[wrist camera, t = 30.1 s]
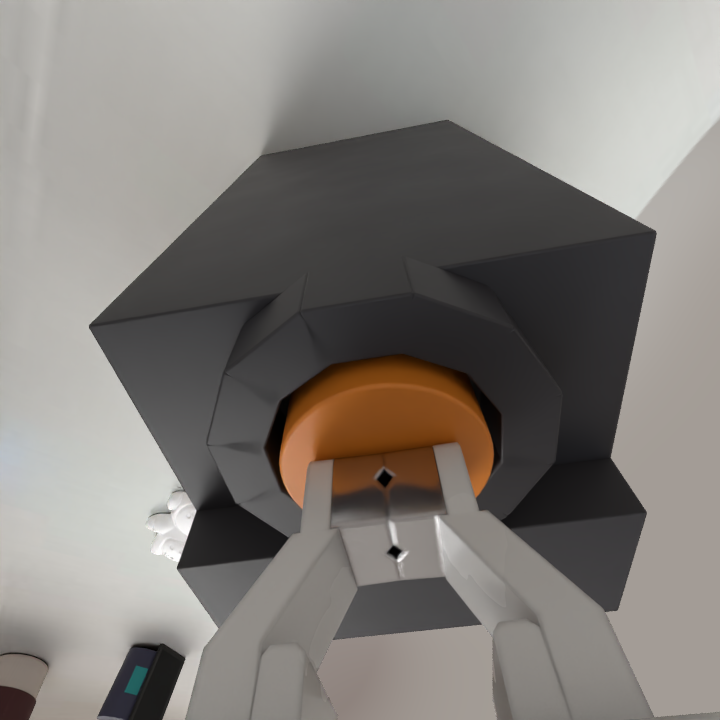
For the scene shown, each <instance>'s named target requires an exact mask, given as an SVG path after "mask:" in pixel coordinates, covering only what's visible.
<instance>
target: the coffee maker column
mask: <svg viewBox="0 0 720 720" xmlns="http://www.w3.org/2000/svg"><path fill="white" fill-rule="evenodd" d="M655 239H656V231H655V230H653V229H651V228H649V227H647V226H646V225H643V224H642V223H640V222H638V221H636V220H634V219H632V218H631V217H629V216H627V215H625V214H623V213H621V212H619V211H618V210H616V209H614V208H612V207H610V206H608V205H606V204H604V203H603V202H601V201H599V200H597V199H595V198H593V197H591V196H589V195H588V194H586V193H584V192H582V191H580V190H578V189H576V188H575V187H573V186H571V185H569V184H567V183H565V182H563V181H561V180H560V179H558V178H556V177H554V176H552V175H550V174H548V173H546V172H545V171H543V170H541V169H539V168H537V167H535V166H533V165H532V164H530V163H528V162H526V161H524V160H522V159H520V158H518V157H517V156H515V155H513V154H511V153H509V152H507V151H505V150H503V149H502V148H500V147H498V146H496V145H494V144H492V143H490V142H489V141H487V140H485V139H483V138H481V137H479V136H477V135H475V134H474V133H472V132H470V131H468V130H466V129H464V128H462V127H460V126H459V125H457V124H455V123H453V122H451V121H449V120H445V121H439V122H434V123H429V124H424V125H419V126H413V127H408V128H403V129H398V130H392V131H387V132H382V133H377V134H372V135H366V136H361V137H356V138H351V139H345V140H340V141H335V142H330V143H325V144H319V145H314V146H309V147H304V148H298V149H293V150H288V151H283V152H278V153H272V154H267V155H262V156H260V157H259V158H258V159H257V160H256V161H255V162H254V163H253V164H252V165H251V166H250V167H249V168H248V169H247V170H246V171H245V172H244V173H243V174H242V175H241V176H240V177H239V178H238V179H237V180H236V181H235V182H234V183H233V184H232V185H231V186H230V187H229V188H228V189H227V190H226V191H225V192H223V193H222V194H221V195H220V196H219V197H218V198H217V199H216V200H215V201H214V202H213V203H212V204H211V205H210V206H209V207H208V208H207V209H206V210H205V211H204V212H203V213H202V214H201V215H200V216H199V217H198V218H197V219H196V220H195V221H194V222H193V223H192V224H191V225H190V226H189V227H188V228H187V229H186V230H185V231H184V232H183V233H182V234H181V235H180V236H179V237H178V238H177V239H176V240H175V241H174V242H173V243H172V244H171V245H170V246H169V247H168V248H167V249H166V250H165V251H164V252H163V253H162V254H161V255H160V256H159V257H158V258H157V259H156V260H155V261H154V262H153V263H152V264H151V265H150V266H149V267H148V268H147V269H146V270H145V271H144V272H142V273H141V274H140V275H139V276H138V277H137V278H136V279H135V280H134V281H133V282H132V283H131V284H130V285H129V286H128V287H127V288H126V289H125V290H124V291H123V292H122V293H121V294H120V295H119V296H118V297H117V298H116V299H115V300H114V301H113V302H112V303H111V304H110V305H109V306H108V307H107V308H106V309H105V310H104V311H103V312H102V313H101V314H100V315H99V316H98V317H97V318H96V319H95V320H94V321H93V322H92V323H91V324H90V325H89V328H90V330H91V332H92V333H93V335H94V337H95V338H96V340H97V342H98V344H99V345H100V347H101V349H102V350H103V352H104V354H105V355H106V357H107V359H108V361H109V362H110V364H111V366H112V367H113V369H114V371H115V373H116V374H117V376H118V378H119V379H120V381H121V383H122V384H123V386H124V388H125V390H126V391H127V393H128V395H129V396H130V398H131V400H132V402H133V403H134V405H135V407H136V408H137V410H138V412H139V413H140V415H141V417H142V419H143V420H144V422H145V424H146V425H147V427H148V429H149V431H150V432H151V434H152V436H153V437H154V439H155V441H156V442H157V444H158V446H159V448H160V449H161V451H162V453H163V454H164V456H165V458H166V460H167V461H168V463H169V465H170V466H171V468H172V470H173V472H174V473H175V475H176V477H177V478H178V480H179V482H180V483H181V485H182V487H183V489H184V490H185V492H186V494H187V495H188V497H189V499H190V501H191V502H192V504H193V506H194V507H195V509H196V511H203V510H211V509H219V508H226V507H234V506H241V507H242V508H244V509H245V510H247V511H249V512H250V513H252V514H253V515H255V516H256V517H258V518H259V519H261V520H262V521H264V522H266V523H267V524H269V525H270V526H272V527H273V528H275V529H276V530H278V531H279V532H281V533H282V534H284V535H286V536H287V537H289V538H290V536H291V535H292V534H295V533H300V528H301V519H302V510H303V509H302V508H300V507H299V505H298V504H297V503H296V502H295V501H294V500H293V499H292V497H291V496H290V495H289V493H288V491H287V489H286V487H285V485H284V483H283V480H282V477H281V473H280V466H279V457H280V449H281V444H282V438H283V433H284V427H285V422H286V416H287V411H288V405H289V400H290V394H291V393H292V392H294V391H295V390H297V389H298V388H299V387H301V386H302V385H304V384H305V383H306V382H308V381H309V380H310V379H312V378H313V377H315V376H316V375H317V374H319V373H320V372H322V371H323V370H324V369H326V368H327V367H329V366H330V365H332V364H338V363H345V362H351V361H358V360H365V359H371V358H378V357H384V356H391V355H398V354H405V355H408V356H411V357H414V358H418V359H421V360H424V361H427V362H431V363H434V364H437V365H440V366H444V367H447V368H450V369H453V370H457V371H460V372H463V373H466V374H467V375H468V377H469V380H470V382H471V385H472V387H473V390H474V393H475V395H476V398H477V400H478V403H479V406H480V408H481V411H482V414H483V416H484V419H485V421H486V424H487V427H488V429H489V432H490V435H491V438H492V442H493V448H494V460H493V467H492V470H491V474H490V477H489V479H488V481H487V483H486V485H485V487H484V488H483V490H482V491H481V493H480V494H479V495H478V496H477V497H476V501H477V505H478V508H479V511H483V510H488V511H489V512H490V513H492V514H493V515H494V516H495V517H496V518H497V519H499V520H502V519H504V518H506V517H507V515H508V514H510V513H511V512H512V511H513V510H514V509H515V508H516V506H517V505H518V504H519V503H520V502H521V501H522V500H523V498H524V497H525V496H526V495H527V494H528V493H529V491H530V490H531V489H532V488H533V487H534V486H535V484H536V483H537V482H538V481H539V480H540V479H541V478H542V476H543V475H544V474H545V473H546V472H547V471H548V469H549V468H550V467H551V466H553V465H560V464H568V463H576V462H584V461H591V460H599V459H607V458H611V453H612V448H613V443H614V438H615V433H616V429H617V424H618V419H619V414H620V409H621V404H622V399H623V395H624V389H625V385H626V380H627V375H628V370H629V365H630V361H631V356H632V351H633V346H634V341H635V336H636V331H637V326H638V322H639V317H640V312H641V307H642V302H643V297H644V292H645V288H646V283H647V278H648V273H649V268H650V263H651V258H652V254H653V249H654V244H655Z"/></svg>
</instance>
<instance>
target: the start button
mask: <svg viewBox="0 0 720 720" xmlns="http://www.w3.org/2000/svg"><path fill="white" fill-rule="evenodd" d="M453 442H458V443H459V445H460V446H461V450H462V453H463V457H464V460H465V464H466V467H467V470H468V474H469V477H470V481H471V484H472V487H473V491H474V494H475V498H476V497H477V496H478V495H479V494H480V493H481V491H482V490H483V488H484V487H485V485H486V483H487V481H488V479H489V477H490V474H491V470H492V467H493V460H494V448H493V442H492V438H491V435H490V432H489V429H488V427H487V424H486V421H485V419H484V416H483V414H482V411H481V408H480V406H479V403H478V400H477V398H476V395H475V393H474V390H473V387H472V385H471V382H470V380H469V377H468V375H467V374H466V373H463V372H460V371H457V370H453V369H450V368H447V367H444V366H440V365H437V364H434V363H431V362H427V361H424V360H421V359H418V358H414V357H411V356H408V355H405V354H398V355H391V356H384V357H378V358H371V359H365V360H358V361H351V362H345V363H338V364H332V365H330V366H329V367H327V368H326V369H324V370H323V371H322V372H320V373H319V374H317V375H316V376H315V377H313V378H312V379H310V380H309V381H308V382H306V383H305V384H304V385H302V386H301V387H299V388H298V389H297V390H295V391H294V392H292V393H291V394H290V400H289V405H288V411H287V416H286V422H285V427H284V433H283V438H282V444H281V449H280V457H279V466H280V473H281V477H282V480H283V483H284V485H285V487H286V489H287V491H288V493H289V495H290V496H291V497H292V499H293V500H294V501H295V502H296V503H297V504H298V505H299V507H300V508H302V509H303V501H304V492H305V483H306V474H307V467H308V465H309V463H310V462H311V461H320V460H330V459H335V458H343V457H353V456H362V455H371V454H380V453H384V452H391V451H398V450H405V449H412V448H419V447H426V446H433V445H440V444H446V443H453Z"/></svg>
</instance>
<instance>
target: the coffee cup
mask: <svg viewBox="0 0 720 720" xmlns="http://www.w3.org/2000/svg"><path fill="white" fill-rule="evenodd" d="M47 672H48V667H47V665H46V664H45V663H44V662H43V661H41V660H40V659H37V658H35V657H32V656H28V655H23V654H7V655H3V656H0V720H29V718H30V716H31V713H32V711H33V709H34V706H35V704H36V698H37V695H38V693H39V691H40V688H41V686H42V684H43V681H44V679H45V677H46V675H47Z"/></svg>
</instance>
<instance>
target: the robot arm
mask: <svg viewBox="0 0 720 720" xmlns="http://www.w3.org/2000/svg"><path fill="white" fill-rule="evenodd" d="M435 577H446V580H447V581H448V582H449V583H450V585H451V586H452V587H453V588H454V590H455V591H456V592H457V593H458V595H459V596H460V597H461V598H462V600H463V601H464V602H465V604H466V605H467V606H468V607H469V609H470V610H471V611H472V612H473V614H474V615H475V616H476V617H477V619H478V620H479V621H480V622H481V624H482V625H483V626H484V627H485V628H486V630H487V631H488V632H489V633H490V635H491V636H492V637H493V703H494V708H495V713H496V717H497V720H720V712H715V713H701V714H689V715H678V716H665V717H654V715H653V713H652V711H651V709H650V707H649V705H648V702H647V700H646V698H645V696H644V694H643V692H642V690H641V688H640V685H639V683H638V681H637V679H636V677H635V675H634V673H633V671H632V668H631V667H630V664H629V662H628V660H627V658H626V656H625V653H624V651H623V649H622V647H621V645H620V643H619V641H618V638H617V636H616V634H615V632H614V630H613V628H612V625H611V624H610V621H609V619H608V617H607V615H606V613H605V611H604V609H603V608H602V607H601V606H600V605H599V604H597V603H596V602H595V601H594V600H593V599H591V598H590V597H589V596H588V595H587V594H586V593H584V592H583V591H582V590H581V589H580V588H579V587H577V586H576V585H575V584H574V583H573V582H571V581H570V580H569V579H568V578H567V577H566V576H564V575H563V574H562V573H561V572H560V571H559V570H557V569H556V568H555V567H554V566H553V565H552V564H550V563H549V562H548V561H547V560H546V559H544V558H543V557H542V556H541V555H540V554H539V553H537V552H536V551H535V550H534V549H533V548H532V547H530V546H529V545H528V544H527V543H526V542H524V541H523V540H522V539H521V538H520V537H519V536H517V535H516V534H515V533H514V532H513V531H512V530H510V529H509V528H508V527H507V526H506V525H504V524H503V523H502V522H501V521H500V520H499V519H497V518H496V517H495V516H494V515H493V514H492V513H490V512H489V511H488V510H483V511H479V508H478V505H477V501H476V498H475V494H474V491H473V487H472V484H471V481H470V477H469V474H468V470H467V467H466V464H465V460H464V457H463V453H462V450H461V446H460V445H459V443H458V442H453V443H446V444H440V445H433V446H426V447H419V448H412V449H405V450H398V451H391V452H384V453H380V454H371V455H362V456H353V457H343V458H335V459H330V460H320V461H311V462H310V463H309V465H308V467H307V474H306V483H305V492H304V501H303V510H302V519H301V528H300V533H295V534H292V535H291V536H290V538H289V539H288V540H287V541H286V543H285V544H284V545H283V547H282V548H281V549H280V551H279V552H278V553H277V554H276V556H275V557H274V558H273V560H272V561H271V562H270V563H269V565H268V566H267V567H266V569H265V570H264V571H263V573H262V574H261V575H260V576H259V578H258V579H257V580H256V582H255V583H254V584H253V585H252V587H251V588H250V589H249V591H248V592H247V593H246V594H245V596H244V597H243V598H242V600H241V601H240V602H239V604H238V605H237V606H236V607H235V609H234V610H233V611H232V613H231V614H230V615H229V616H228V618H227V619H226V620H225V622H224V623H223V624H222V626H221V627H220V628H219V629H218V631H217V632H216V633H215V635H214V636H213V637H212V638H211V640H210V641H209V642H208V644H207V645H206V646H205V647H204V649H203V652H202V656H201V660H200V664H199V668H198V672H197V676H196V680H195V684H194V687H193V691H192V695H191V699H190V703H189V707H188V711H187V715H186V718H185V720H337V713H336V711H335V709H334V707H333V705H332V703H331V701H330V699H329V697H328V695H327V693H326V691H325V689H324V687H323V685H322V683H321V681H320V680H319V677H318V675H317V671H318V669H319V666H320V665H321V663H322V660H323V659H324V656H325V654H326V652H327V650H328V648H329V646H330V644H331V642H332V640H333V638H334V636H335V634H336V632H337V630H338V628H339V626H340V624H341V622H342V620H343V618H344V616H345V614H346V612H347V610H348V608H349V606H350V604H351V602H352V600H353V598H354V596H355V594H356V592H357V590H358V589H357V586H364V585H371V584H379V583H386V582H393V581H400V580H412V579H423V578H435Z"/></svg>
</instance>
